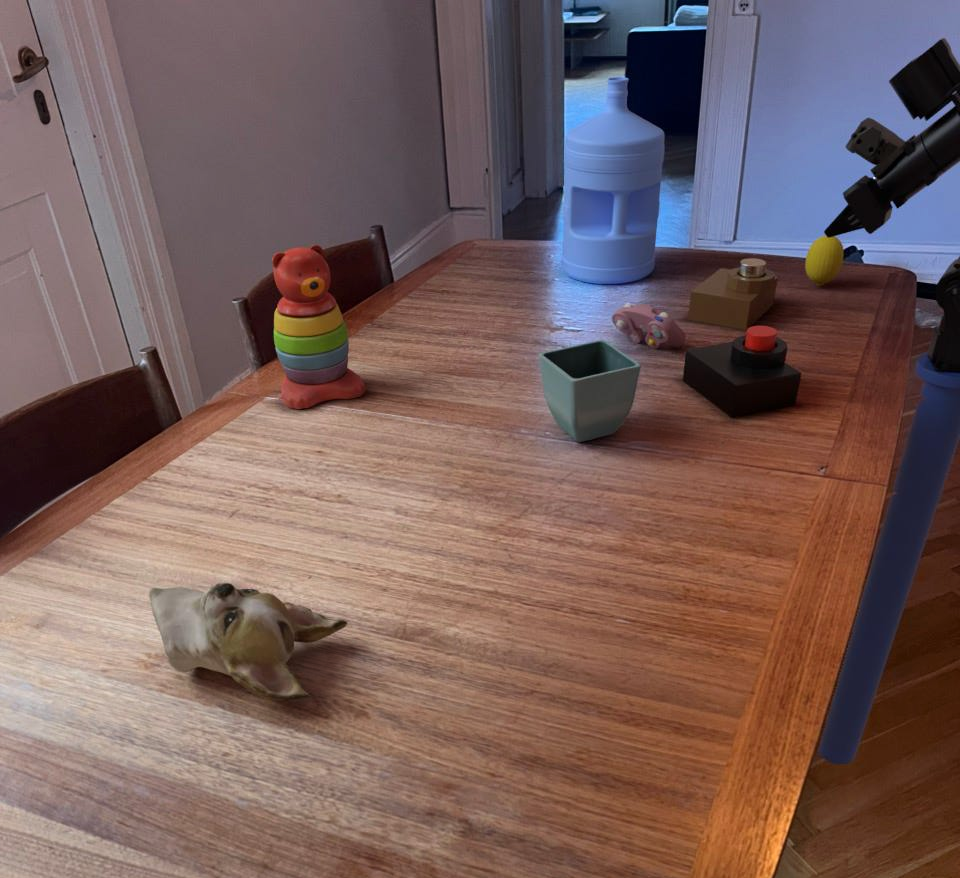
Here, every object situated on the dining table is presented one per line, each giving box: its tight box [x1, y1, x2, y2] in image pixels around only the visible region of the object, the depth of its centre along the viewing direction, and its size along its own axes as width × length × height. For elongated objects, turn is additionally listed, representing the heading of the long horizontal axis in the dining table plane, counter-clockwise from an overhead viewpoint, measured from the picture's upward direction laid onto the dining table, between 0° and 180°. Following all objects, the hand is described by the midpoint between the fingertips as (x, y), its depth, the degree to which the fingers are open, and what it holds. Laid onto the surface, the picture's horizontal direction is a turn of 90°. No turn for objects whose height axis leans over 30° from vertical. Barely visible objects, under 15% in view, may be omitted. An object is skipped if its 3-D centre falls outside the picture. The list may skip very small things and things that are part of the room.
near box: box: [682, 334, 803, 419], centre depth 114 cm, size 10×12×6 cm
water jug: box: [560, 76, 666, 285], centre depth 146 cm, size 16×16×28 cm
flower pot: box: [538, 339, 642, 443], centre depth 106 cm, size 9×9×9 cm
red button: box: [745, 325, 778, 351], centre depth 113 cm, size 4×4×2 cm
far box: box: [687, 266, 779, 331], centre depth 136 cm, size 10×12×6 cm
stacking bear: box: [271, 244, 367, 410], centre depth 115 cm, size 11×10×18 cm
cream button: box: [738, 257, 767, 278], centre depth 133 cm, size 4×4×2 cm
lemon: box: [804, 234, 845, 287], centre depth 143 cm, size 6×6×8 cm
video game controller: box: [611, 302, 686, 350], centre depth 128 cm, size 10×5×7 cm, turn 47°
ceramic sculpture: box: [148, 582, 348, 702], centre depth 75 cm, size 11×9×15 cm
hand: (826, 234), depth 125 cm, fingers closed
